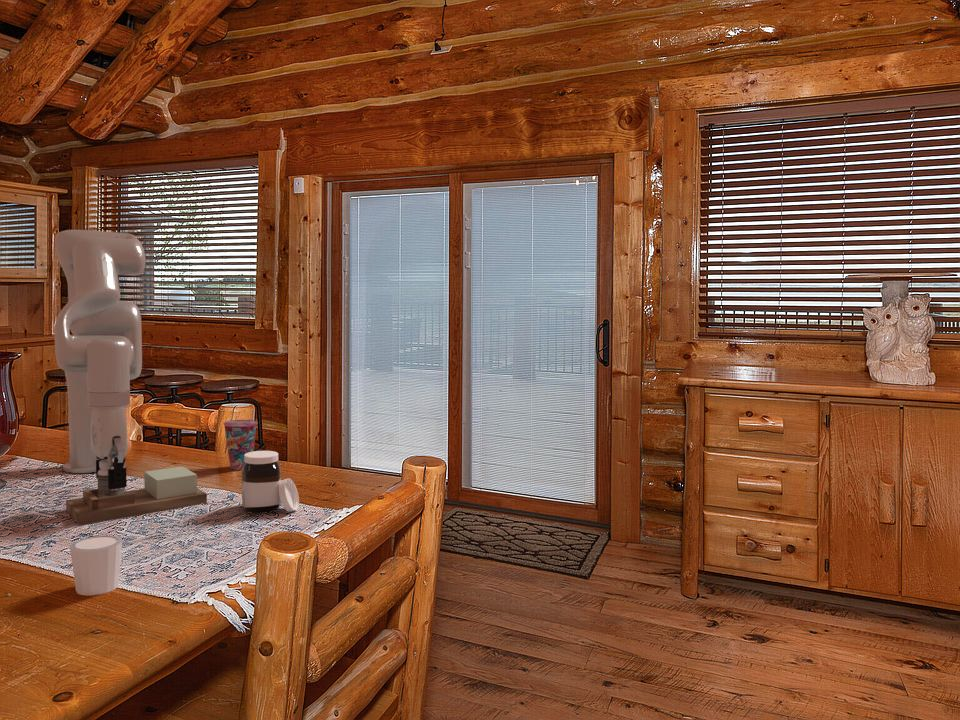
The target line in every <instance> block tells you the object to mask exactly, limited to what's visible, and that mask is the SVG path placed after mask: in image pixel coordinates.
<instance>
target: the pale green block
mask: <svg viewBox="0 0 960 720" xmlns="http://www.w3.org/2000/svg"><path fill="white" fill-rule="evenodd" d="M143 474H144V475H143V476H144V482H143V483H144V484H143V485H144V488H145V490H146V491H147V492H148V493H150V494H151V495H152V496H154V497H155V498H156V499H163V498H169V497H175V496H181V495H187V494H194V493H197V488H198V475H197V474H196V473H195V472H193V471H191V470H190V469H188V468H186V467H185V466H176V467H170V468H169V467H168V468H162V469H161V468H159V469H153V470H148V471H144V473H143Z"/></svg>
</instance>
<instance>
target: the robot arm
mask: <svg viewBox="0 0 960 720" xmlns="http://www.w3.org/2000/svg"><path fill="white" fill-rule="evenodd" d="M54 249H55V254H56V256H57V259H58V263H59V265H60V267H61V269H62V271H63V273H64V275H65V278H66V282H67V298H68V299H67V303H66V304H65V305H64V306H63V308H62V309H61V310H60V312H59V313H58V315H57V317H56V320H55V324H54V332H53V333H54V351H55V352H54V353H55V354H54V355H55V359H56V363H57V365H58V367H59V368H60V369H61V370H63V371H64V375H65V381H66V389H67V398H68V399H67V403H68V405H67V406H68V407H67V408H68V437H69V439H68V441H69V445H68V446H69V462H66V463H64V464H63V465H62V471H64V472H65V471H66V472H65V473H69V472H71V474H90V473H91V474H92V472H94V473H95V478H96V480H98V471H99V470H101V469H100V467H99V461H101V460H104V459H108V463H109V467H110V469H108V488H109V489H110V490H111V489H118V488H127V485H128V484H127V462H126V461H127V459H126V456H127V454H128V427H127V426H128V425H127V423H128V422H127V412H126V408H129V407H131V383H130V382H131V381H132V380H135V379H137V378H139V377H140V375H141V373H142V369H143V344H142V343H143V342H142V315H141V312H140V309H139V307H138V305H137V304H136V303H134V302H133V301H132V302H131V301H127V300H121V291H120V290H121V289H120V282H119V276H135V277H136V276H137V277H138V276H140V275H142V274H143V273H144V271H145V268H146V254H145V249H144V247H143V244H142V242H141V241H140V240H139V239H138V238H137V237H136V235H134V234H131V233H128V232H127V233H126V232H117V231H116V232H115V231H114V232H113V231H101V230H88V229H87V230H86V229H66V230H62V231H59V232H58V233H56V235H55V237H54ZM70 332H71V334H72V335H71V334H70ZM112 459H114V462H113V460H112Z"/></svg>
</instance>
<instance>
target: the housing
mask: <svg viewBox="0 0 960 720" xmlns="http://www.w3.org/2000/svg"><path fill="white" fill-rule="evenodd" d="M125 488H126V487H125ZM125 488H124V494H120V495H114V496H107V497H101V498H98V487H97V488H92V489H85V490H82V497H80V498H72V499H66V500H65V510H66V512H67V513H68V512H69V513H68V514H69V515H70V516H71V517H72V519H74V521H75V522H76V523H77V525H78V526H83V525H89V524H95V523H99V522H100V523H101V522H105V521H112V520H115V519H116V520H117V518H118V519H121V518H120V517H124V518H128V517H127V516H129V517H134V516H133V515H135V516H138V515H139V516H140V514H141V515H145V514H152V513H157V512H164V511H168V510H176V509H180V508H185V507H191V505H192V506H196V504H198V505H202V504H201V503H203V504H207V503H208V500H207V498H208V497H207V496H208V494H207V493H206V492H205V491H204V490H202V489H200V488H198V487H197V493H194V494H187V495H181V496H175V497H169V498H163V499H156V498H155V497H154V496H152V495H151V494H150V493H148V492H147V491H146V490H145V487H144V488H139V489H132V490H126V489H125Z"/></svg>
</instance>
